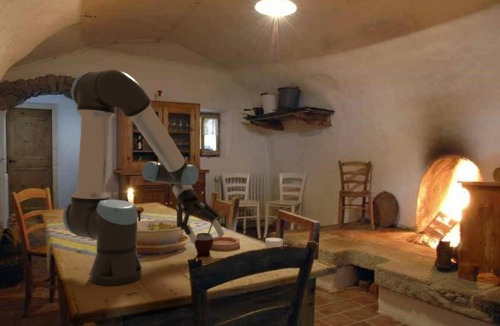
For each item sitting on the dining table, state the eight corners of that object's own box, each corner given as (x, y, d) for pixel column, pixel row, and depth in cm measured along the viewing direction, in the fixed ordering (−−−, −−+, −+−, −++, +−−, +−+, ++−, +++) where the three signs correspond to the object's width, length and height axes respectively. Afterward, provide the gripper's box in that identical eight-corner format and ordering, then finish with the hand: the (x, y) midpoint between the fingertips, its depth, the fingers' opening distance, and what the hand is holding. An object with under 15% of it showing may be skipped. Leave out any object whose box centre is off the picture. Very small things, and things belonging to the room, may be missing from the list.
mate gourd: (190, 254, 146) (191, 215, 145) (206, 251, 152) (207, 213, 151) (203, 259, 141) (204, 218, 140) (219, 255, 147) (220, 216, 146)
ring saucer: (219, 252, 151) (219, 246, 151) (199, 244, 161) (199, 239, 161) (246, 246, 160) (246, 241, 160) (225, 239, 171) (225, 235, 171)
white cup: (281, 260, 141) (282, 242, 141) (263, 259, 143) (263, 240, 143) (283, 255, 148) (284, 237, 148) (266, 254, 150) (266, 236, 149)
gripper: (204, 197, 165) (228, 238, 156) (154, 202, 147) (177, 249, 138) (213, 186, 162) (237, 227, 152) (162, 190, 143) (186, 237, 134)
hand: (209, 238), depth 145 cm, fingers open, 13 cm apart
